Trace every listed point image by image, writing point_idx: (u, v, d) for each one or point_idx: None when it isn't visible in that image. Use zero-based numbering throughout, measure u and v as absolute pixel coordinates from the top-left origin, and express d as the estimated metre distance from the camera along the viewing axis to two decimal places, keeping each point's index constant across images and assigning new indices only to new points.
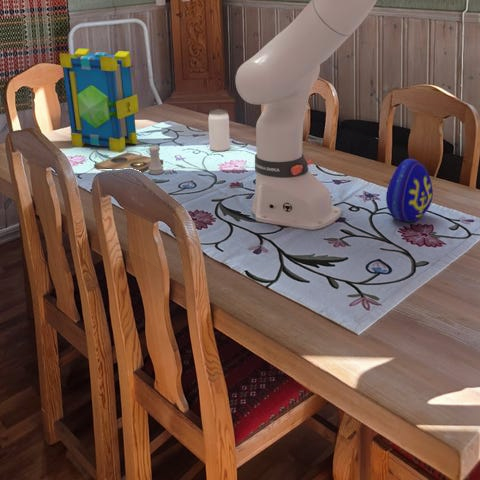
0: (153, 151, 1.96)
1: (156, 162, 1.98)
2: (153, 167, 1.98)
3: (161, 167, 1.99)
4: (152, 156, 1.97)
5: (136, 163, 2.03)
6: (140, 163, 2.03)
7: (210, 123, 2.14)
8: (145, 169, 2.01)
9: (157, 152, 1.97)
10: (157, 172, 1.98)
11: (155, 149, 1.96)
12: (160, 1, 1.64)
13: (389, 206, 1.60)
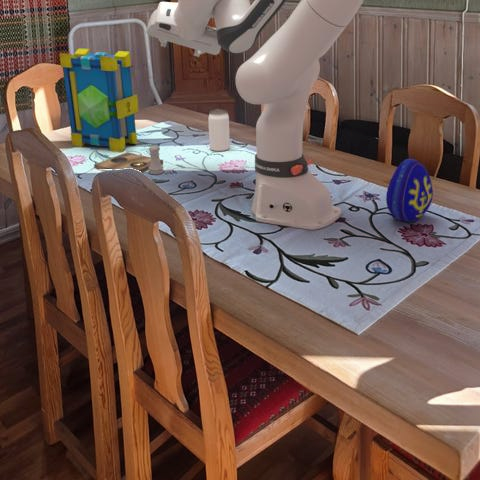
0: (153, 151, 1.96)
1: (156, 162, 1.98)
2: (153, 167, 1.98)
3: (161, 167, 1.99)
4: (152, 156, 1.97)
5: (136, 163, 2.03)
6: (140, 163, 2.03)
7: (210, 123, 2.14)
8: (145, 169, 2.01)
9: (157, 152, 1.97)
10: (157, 172, 1.98)
11: (155, 149, 1.96)
12: None
13: (389, 206, 1.60)
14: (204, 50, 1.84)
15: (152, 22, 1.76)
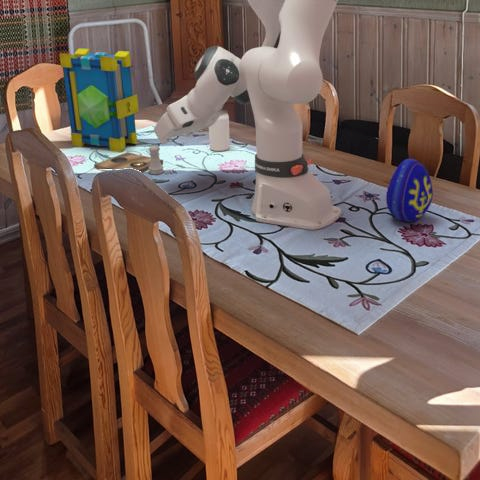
0: (153, 151, 1.96)
1: (156, 162, 1.98)
2: (153, 167, 1.98)
3: (161, 167, 1.99)
4: (152, 156, 1.97)
5: (136, 163, 2.03)
6: (140, 163, 2.03)
7: None
8: (145, 169, 2.01)
9: (157, 152, 1.97)
10: (157, 172, 1.98)
11: (155, 149, 1.96)
12: None
13: (389, 206, 1.60)
14: (204, 127, 1.90)
15: (171, 127, 1.76)
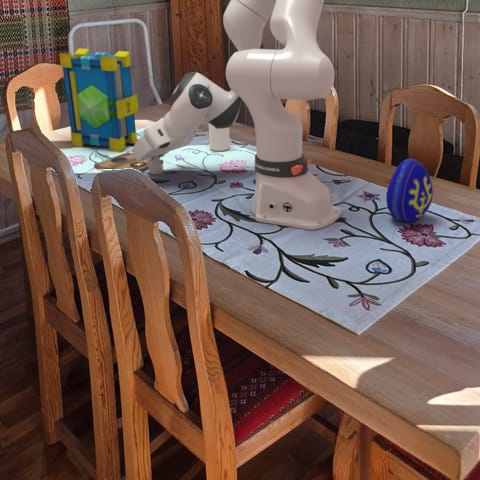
0: None
1: (156, 162, 1.98)
2: (153, 167, 1.98)
3: (161, 167, 1.99)
4: None
5: (136, 163, 2.03)
6: (140, 163, 2.03)
7: None
8: (145, 169, 2.01)
9: None
10: (157, 172, 1.98)
11: None
12: None
13: (389, 206, 1.60)
14: (180, 146, 1.98)
15: (148, 148, 1.84)
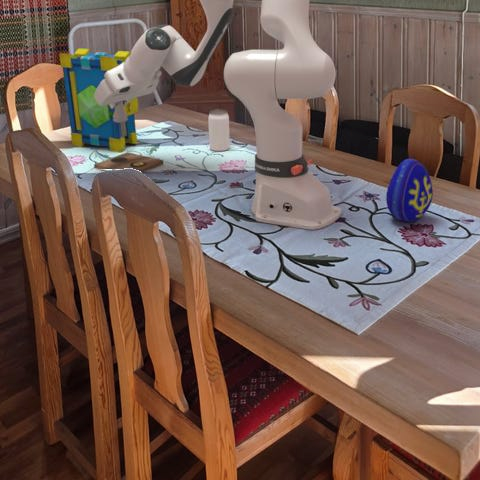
0: None
1: (120, 109, 2.01)
2: (117, 115, 2.01)
3: (125, 115, 2.02)
4: None
5: (136, 163, 2.03)
6: (140, 163, 2.03)
7: (210, 123, 2.14)
8: (145, 169, 2.01)
9: None
10: (121, 120, 2.02)
11: None
12: None
13: (389, 206, 1.60)
14: (144, 93, 2.01)
15: (109, 92, 1.87)
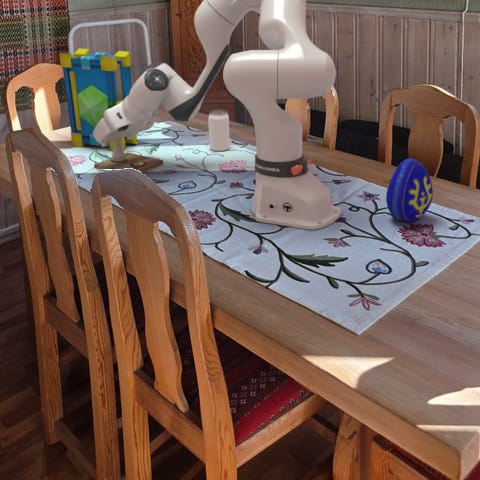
0: (115, 139, 2.04)
1: (119, 149, 2.05)
2: (115, 155, 2.05)
3: (124, 154, 2.06)
4: (115, 144, 2.05)
5: (136, 163, 2.03)
6: (140, 163, 2.03)
7: (210, 123, 2.14)
8: (145, 169, 2.01)
9: (119, 140, 2.05)
10: (120, 159, 2.06)
11: None
12: None
13: (389, 206, 1.60)
14: (141, 130, 2.05)
15: (108, 130, 1.91)
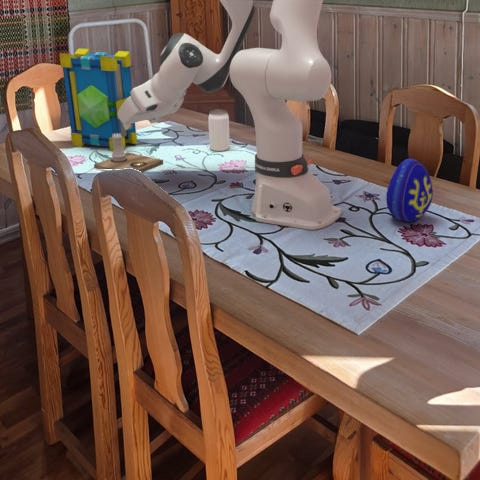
0: (116, 139, 2.04)
1: (119, 149, 2.05)
2: (115, 155, 2.05)
3: (124, 155, 2.06)
4: (115, 144, 2.05)
5: (136, 163, 2.03)
6: (140, 163, 2.03)
7: (210, 123, 2.14)
8: (145, 169, 2.01)
9: (120, 140, 2.04)
10: (120, 159, 2.06)
11: (117, 137, 2.04)
12: None
13: (389, 206, 1.60)
14: (167, 113, 1.92)
15: (135, 110, 1.77)
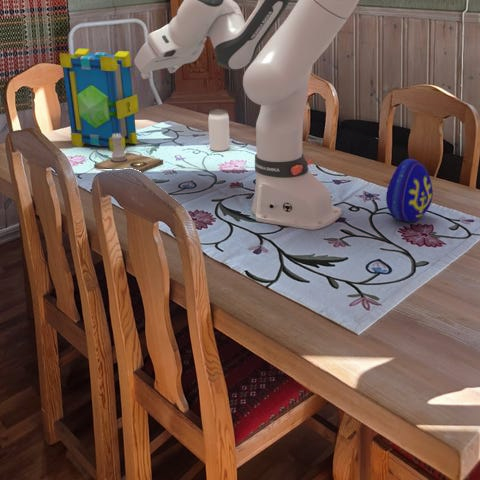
0: (115, 139, 2.04)
1: (119, 149, 2.05)
2: (115, 155, 2.05)
3: (124, 154, 2.06)
4: (115, 144, 2.05)
5: (136, 163, 2.03)
6: (140, 163, 2.03)
7: (210, 123, 2.14)
8: (145, 169, 2.01)
9: (119, 140, 2.05)
10: (120, 159, 2.06)
11: (117, 137, 2.04)
12: None
13: (389, 206, 1.60)
14: (187, 61, 1.83)
15: (152, 56, 1.69)
